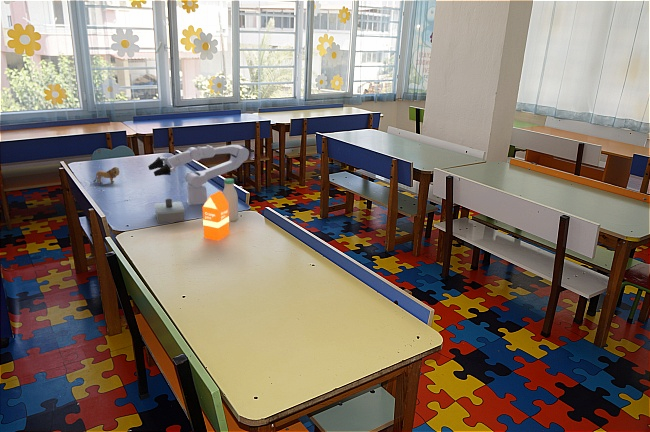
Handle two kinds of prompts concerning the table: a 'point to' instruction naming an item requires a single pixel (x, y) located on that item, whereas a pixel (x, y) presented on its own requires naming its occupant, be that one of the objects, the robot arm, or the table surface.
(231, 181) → the milk bottle
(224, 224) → the orange juice
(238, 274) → the table surface
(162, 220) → the storage box
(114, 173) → the lion figurine
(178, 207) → the lid
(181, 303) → the table surface
